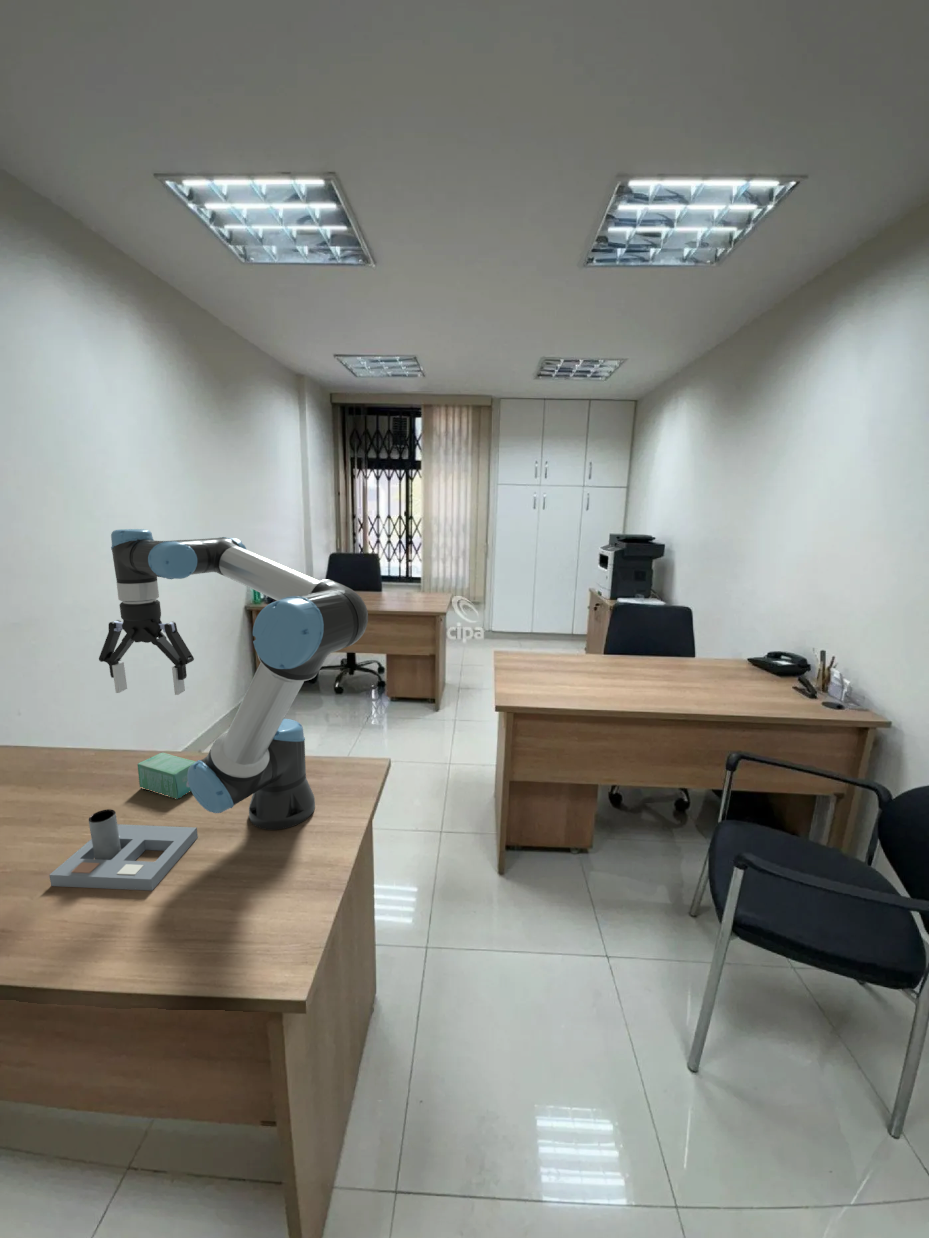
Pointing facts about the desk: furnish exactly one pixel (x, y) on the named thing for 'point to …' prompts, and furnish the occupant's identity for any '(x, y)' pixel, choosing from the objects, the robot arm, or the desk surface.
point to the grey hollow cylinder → (104, 834)
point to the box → (165, 774)
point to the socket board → (127, 859)
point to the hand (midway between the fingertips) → (150, 691)
